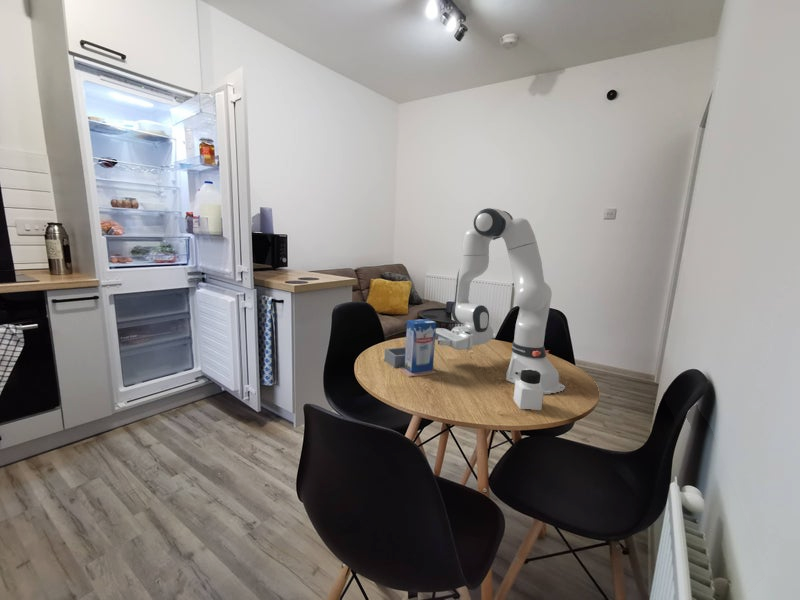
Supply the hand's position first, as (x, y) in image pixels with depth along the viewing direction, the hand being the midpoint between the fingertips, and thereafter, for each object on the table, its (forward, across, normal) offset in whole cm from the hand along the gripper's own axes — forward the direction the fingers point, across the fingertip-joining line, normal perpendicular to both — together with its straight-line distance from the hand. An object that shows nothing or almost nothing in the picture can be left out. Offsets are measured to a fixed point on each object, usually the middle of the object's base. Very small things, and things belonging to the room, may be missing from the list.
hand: (432, 339), depth 141 cm
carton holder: (+6, -11, +13) cm, 18 cm away
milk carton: (+5, -1, +12) cm, 13 cm away
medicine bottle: (-13, +39, +13) cm, 43 cm away
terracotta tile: (+6, 0, +13) cm, 14 cm away
